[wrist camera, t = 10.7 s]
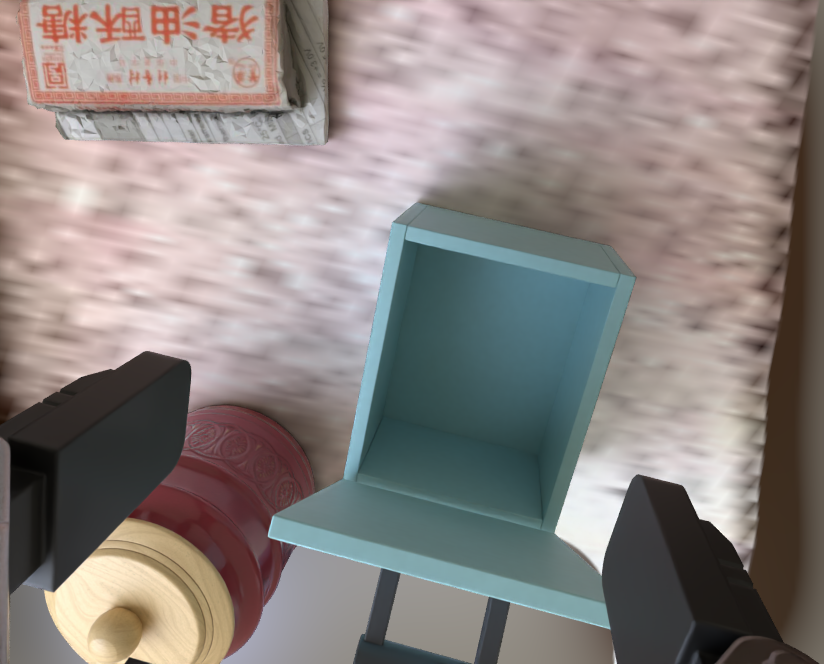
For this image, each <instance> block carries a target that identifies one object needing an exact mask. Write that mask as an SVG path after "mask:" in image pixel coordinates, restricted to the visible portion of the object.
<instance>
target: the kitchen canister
mask: <svg viewBox="0 0 824 664" xmlns="http://www.w3.org/2000/svg"><path fill="white" fill-rule="evenodd" d="M313 494H315V485H314V478H313V473H312V469H311V466H310V464H309V461H308V459H307V457H306V455H305V453H304V451H303V450H302V448H301V447H300V445H299V444H298V443H297V441H296V440H295V439H294V438H293V437H292V436H291V435H290V434H289V432H287V431H286V430H285V429H284V428H283V427H282V426H280V425H279V424H278V423H276V422H275V421H273V420H272V419H270V418H268V417H267V416H265V415H263V414H261V413H258V412H256V411H253V410H250V409H247V408H243V407H238V406H230V405H216V406H209V407H204V408H201V409H198V410H195V411H193V412H191V413H188V414H187V424H186V434H185V442H184V446H183V450H182V453H181V456H180V458H179V460H178V462H177V464H176V466H175V468H174V469H173V470H172V472H171V473H170V474H169V475H168V476H167V477H166V478H165V479H164V480H163V481H162V482H161V483H160V484H159V485H158V486H157V487H156V488H155V489H154V490H153V491H152V492H151V494H150V495H149V496H148V497H147V498H146V499H145V500H144V501H143V502H142V503H141V504H140V505H139V506H138V507H137V508H136V509H135V510H134V511H133V512H132V513H131V514H130V515H129V516H128V517H127V518H126V519H125V520H124V521H123V522H122V523H121V524H120V525H119V526H118V527H117V528H116V529H115V530H114V532H113V533H112V534H111V535H110V536H109V537H108V538H107V539H106V540H105V541H104V542H103V543H102V544H101V545H100V546H99V547H98V548H97V549H96V550H95V551H94V552H93V553H92V554H91V555H90V556H89V557H88V558H87V559H86V560H85V561H84V562H83V563H82V564H81V565H80V566H79V567H78V568H77V569H76V571H75V572H74V573H73V574H72V575H71V576H70V577H69V578H68V579H67V580H66V581H65V582H64V583H63V584H62V585H61V586H60V587H59V588H58V589H57V590H56V591H55V592H54V593H53V592H50V591H46V590H44V592H45V598H46V602H47V606H48V609H49V612H50V614H51V617H52V619H53V620H54V623H55V625H56V626H57V628H58V630H59V631H60V632H61V634H62V636H63V637H64V638H65V639H66V641H67V642H68V643H69V644H70V646H71V647H72V648H73V649H74V650H75V651H76V652H77V653H78V655H80V656H81V657H82V658H83V659H84V660H85V661H86V662H88V663H89V664H125V662H126V661H127V660H128V658H129V657H131V658H134V659H138V660H141V661H145V662H148V663H152V664H220V662H221V661H222V660H223V659H225V658H227V657H229V656H231V655H232V654H234V653H235V652H236V651H238V650H239V649H240V648H241V647H242V646H243V645H244V644H245V643H246V642H247V641H248V640H249V639H250V638H251V636H252V635H253V633H254V632H255V630H256V628H257V626H258V623H259V621H260V618H261V615H262V611H263V607H264V606H265V605H266V604H267V603H268V601H269V600H270V599H271V597H272V595H273V594H274V592H275V590H276V588H277V586H278V583H279V580H280V577H281V572H282V570H283V569H284V567H285V565H286V563H287V561H288V559H289V557H290V555H291V553H292V551H293V550H294V549H295V547H296V546H297V545H294V544H290V543H287V542H283V541H279V540H275V539H272V538H269V537H268V532H269V528H270V525H271V521H272V517H273V515H274V514H276V513H278V512H280V511H282V510H284V509H286V508H288V507H290V506H292V505H294V504H295V503H297V502H299V501H301V500H303V499H305V498H307V497H309V496H311V495H313Z"/></svg>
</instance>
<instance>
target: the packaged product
mask: <svg viewBox="0 0 824 664" xmlns="http://www.w3.org/2000/svg"><path fill="white" fill-rule="evenodd" d="M16 23H17V25H18V26H19V29H20V41H21V45H22V52H23V60H22V64H23V69H24V77H25V81H26V88H27V101H28V104H29V105H32V106H35V107H36V108H37V109H39V108H43V109H46V110H48V111H52V112H55V116H56V128H57V129H58V131H59V132H60V134H61V135H62V137H63V138H64V139H68V140H119V141H143V142H188V143H210V144H220V143H240V144H267V145H294V146H308V145H325V144H326V143H327V142H328V126H329V110H328V0H20V9H19V11H18V13H17V16H16Z"/></svg>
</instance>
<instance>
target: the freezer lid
mask: <svg viewBox="0 0 824 664" xmlns="http://www.w3.org/2000/svg"><path fill="white" fill-rule="evenodd" d="M268 537H269V538H272V539H275V540H279V541H283V542H287V543H290V544H294V545H298V546H302V547H306V548H310V549H313V550H317V551H321V552H324V553H328V554H332V555H335V556H339V557H343V558H347V559H350V560H354V561H358V562H362V563H365V564H369V565H373V566H376V567H380V568H381V572H380V576H379V580H378V584H377V588H376V592H375V596H374V601H373V605H372V609H371V613H370V617H369V621H368V625H367V630H366V633H365V634H362V635H361V637H360V640H359V644H358V647H357V650H356V654H355V658H354V662H353V664H471V663H468V662H464V661H460V660H457V659H453V658H450V657H446V656H442V655H439V654H435V653H431V652H428V651H424V650H421V649H417V648H413V647H410V646H406V645H402V644H399V643H395V642H392V641H388V640H385V635H386V631H387V627H388V623H389V619H390V614H391V610H392V606H393V602H394V598H395V594H396V589H397V585H398V581H399V577H400V573H403V574H406V575H410V576H414V577H418V578H422V579H425V580H429V581H432V582H436V583H440V584H444V585H447V586H452V587H455V588H459V589H463V590H466V591H470V592H474V593H477V594H481V595H485V596H489V599H488V604H487V608H486V613H485V617H484V622H483V626H482V631H481V635H480V640H479V644H478V649H477V653H476V658H475V662H474V664H497V660H498V656H499V652H500V647H501V643H502V638H503V633H504V629H505V624H506V619H507V615H508V610H509V606H510V602H511V603H515V604H518V605H522V606H526V607H530V608H534V609H537V610H541V611H545V612H548V613H552V614H556V615H560V616H563V617H567V618H571V619H575V620H578V621H582V622H586V623H589V624H593V625H597V626H601V627H604V628H608V629H610V624H609V619H608V614H607V609H606V603H605V598H604V593H603V588H602V576H601V575H600V574H599V573H598V572H597V571H595V570H594V569H593V568H592V567H591V566H590V565H589V564H588V563H587V562H585V561H584V560H583V559H582V558H581V557H580V556H579V555H578V554H577V553H575V552H574V551H573V550H572V549H571V548H570V547H569V546H568V545H567V544H566V543H564V542H563V541H562V540H561V539H560V538H559V537H558V536H557V535H556V534H554V533H551V532H547V531H543V530H539V529H535V528H532V527H528V526H524V525H520V524H516V523H512V522H508V521H504V520H501V519H497V518H493V517H489V516H485V515H481V514H477V513H474V512H470V511H466V510H462V509H458V508H454V507H450V506H446V505H443V504H439V503H435V502H431V501H427V500H423V499H419V498H415V497H412V496H408V495H404V494H400V493H396V492H392V491H388V490H385V489H381V488H377V487H373V486H369V485H365V484H361V483H357V482H354V481H350V480H346V479H342V480H340V481H338V482H336V483H334V484H332V485H330V486H328V487H326V488H324V489H322V490H320V491H319V492H317V493H315V494H313V495H311V496H309V497H307V498H305V499H303V500H301V501H299V502H297V503H295V504H294V505H292V506H290V507H288V508H286V509H284V510H282V511H280V512H278V513H276V514H274V515H273V517H272V521H271V525H270V528H269V532H268Z"/></svg>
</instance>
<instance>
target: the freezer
mask: <svg viewBox="0 0 824 664" xmlns="http://www.w3.org/2000/svg"><path fill="white" fill-rule="evenodd" d="M635 280H636V276H635V275H634V274H633V273H632V271H631V270H630V269H629V268H628V266H627V265H626V264H625V263H624V261H623V260H622V259H621V258H620V256H619V255H618V254H617V253H616V251H615V250H614V249H613V248H612V247H611V246H608V245H603V244H599V243H594V242H590V241H586V240H581V239H577V238H572V237H568V236H563V235H559V234H554V233H550V232H546V231H541V230H537V229H532V228H528V227H523V226H519V225H514V224H510V223H506V222H501V221H497V220H492V219H488V218H483V217H479V216H474V215H470V214H466V213H461V212H457V211H452V210H448V209H443V208H439V207H434V206H430V205H426V204H421V203H415V204H414V205H413V206H411V207H410V208H409V209H408V210H407V211H405V212H404V213H403V214H402V215H401V216H399V217H398V218H397V219H396V220H395V221H393V222H392V227H391V232H390V237H389V242H388V248H387V253H386V258H385V263H384V268H383V274H382V279H381V284H380V289H379V294H378V300H377V305H376V310H375V315H374V320H373V326H372V331H371V336H370V341H369V346H368V352H367V357H366V362H365V367H364V372H363V378H362V383H361V388H360V393H359V399H358V404H357V409H356V414H355V419H354V425H353V430H352V435H351V440H350V445H349V451H348V456H347V461H346V466H345V471H344V477H343V479H346V480H350V481H354V482H357V483H361V484H365V485H369V486H373V487H377V488H381V489H385V490H388V491H392V492H396V493H400V494H404V495H408V496H412V497H415V498H419V499H423V500H427V501H431V502H435V503H439V504H443V505H446V506H450V507H454V508H458V509H462V510H466V511H470V512H474V513H477V514H481V515H485V516H489V517H493V518H497V519H501V520H504V521H508V522H512V523H516V524H520V525H524V526H528V527H532V528H535V529H539V530H543V531H547V532H551V533H554V532H555V529H556V526H557V522H558V519H559V516H560V513H561V510H562V507H563V504H564V501H565V498H566V495H567V491H568V488H569V485H570V482H571V479H572V476H573V473H574V470H575V467H576V464H577V460H578V457H579V454H580V451H581V448H582V445H583V442H584V439H585V436H586V433H587V429H588V426H589V423H590V420H591V417H592V414H593V411H594V408H595V405H596V401H597V398H598V395H599V392H600V389H601V386H602V383H603V380H604V377H605V374H606V370H607V367H608V364H609V361H610V358H611V355H612V352H613V349H614V346H615V343H616V339H617V336H618V333H619V330H620V327H621V324H622V321H623V318H624V315H625V311H626V308H627V305H628V302H629V299H630V296H631V293H632V290H633V287H634V284H635Z"/></svg>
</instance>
